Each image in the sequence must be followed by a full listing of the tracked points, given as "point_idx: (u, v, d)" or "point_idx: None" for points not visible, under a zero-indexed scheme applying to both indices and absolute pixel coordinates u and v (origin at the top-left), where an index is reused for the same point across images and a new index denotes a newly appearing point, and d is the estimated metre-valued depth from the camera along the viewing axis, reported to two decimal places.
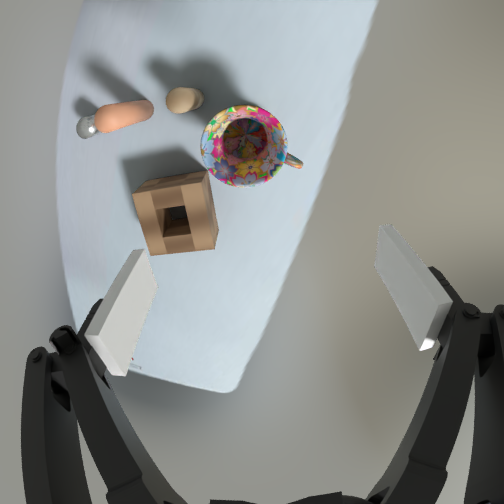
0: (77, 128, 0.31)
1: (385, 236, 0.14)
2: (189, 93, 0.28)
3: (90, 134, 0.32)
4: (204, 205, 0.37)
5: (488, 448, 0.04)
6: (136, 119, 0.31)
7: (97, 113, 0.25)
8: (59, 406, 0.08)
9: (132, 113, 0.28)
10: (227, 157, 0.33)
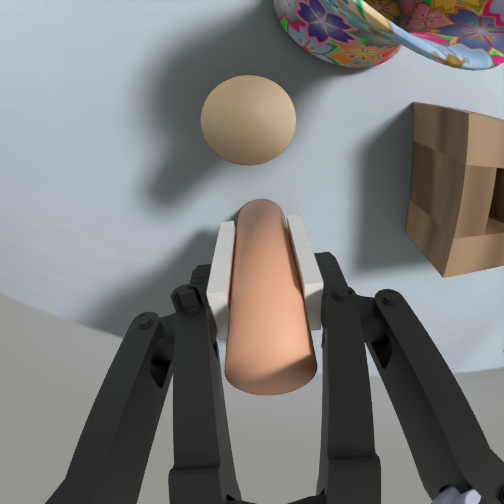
0: None
1: (288, 225, 0.16)
2: (226, 85, 0.08)
3: None
4: None
5: (424, 438, 0.06)
6: (286, 252, 0.13)
7: (246, 389, 0.10)
8: (152, 382, 0.09)
9: (269, 273, 0.12)
10: (424, 28, 0.07)
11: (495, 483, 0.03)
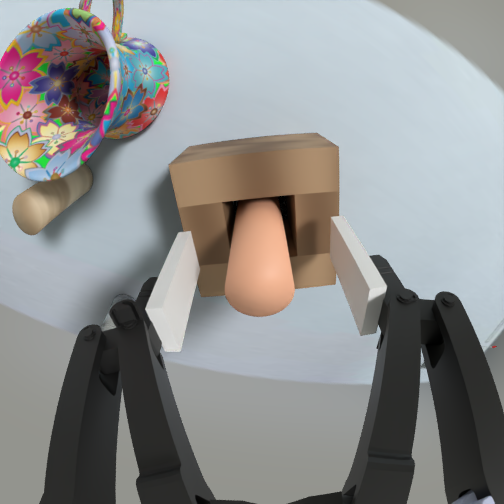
0: None
1: (334, 226, 0.15)
2: (16, 200, 0.14)
3: None
4: (222, 159, 0.16)
5: (457, 439, 0.05)
6: (275, 214, 0.17)
7: (241, 308, 0.14)
8: (104, 389, 0.09)
9: (260, 224, 0.15)
10: None
11: None
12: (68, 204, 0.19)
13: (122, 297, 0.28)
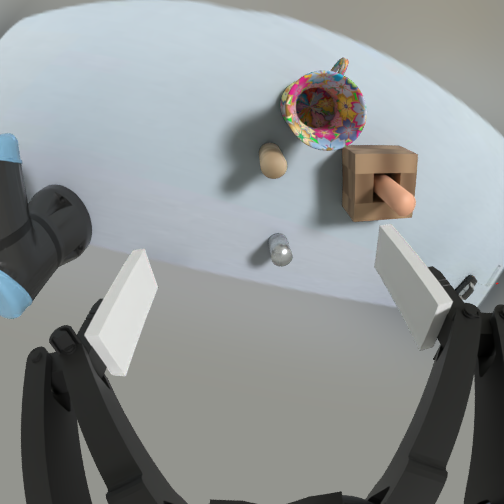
0: (283, 265, 0.44)
1: (386, 236, 0.14)
2: (268, 156, 0.33)
3: (288, 251, 0.43)
4: (377, 154, 0.34)
5: (488, 448, 0.04)
6: None
7: (398, 212, 0.32)
8: (59, 406, 0.08)
9: (395, 182, 0.34)
10: (334, 126, 0.32)
11: None
12: None
13: (276, 234, 0.47)
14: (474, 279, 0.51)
